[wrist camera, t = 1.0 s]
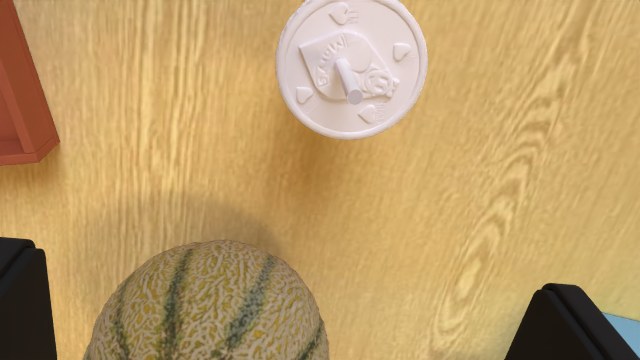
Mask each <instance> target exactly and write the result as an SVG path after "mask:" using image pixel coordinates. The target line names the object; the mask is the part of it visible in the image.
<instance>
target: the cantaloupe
mask: <svg viewBox="0 0 640 360" xmlns="http://www.w3.org/2000/svg"><path fill="white" fill-rule="evenodd" d="M328 344H329V342H328V340H327V334H326V331H325V326H324V321H323V320H322V319H321V317H320V314H319V308H318V306H317V304H316V301H315V299H314V297H313V295H312V293H311V291H310V290H309V289H308V287H307V286H306V285H305V284H304V282H303V281H302V279H301V278H300V277H299V275H298V273H297V272H296V271H295V270H293V269H292V268H291V267H290V266H289V265H288V264H287V263H286V262H284V261H283V260H281V259H279V258H278V257H275V256H271V255H270V254H268V253H267V252H266V251H264V250H262V249H260V248H258V247H256V246H253V245H248V244H245V243H241V242H236V241H231V240H217V241H210V242H205V243H197V242H194V243H191V244H188V245H182V246H179V247H175V248H172V249H170V250H167V251H165V252H162V253H160V254H158V255H156V256H154V257H153V258H151V259H150V260H148V261H147V262H146V263H144V264H143V265H142V266H141V267H140V268H139V269H137V270H136V271H135V272H133V273H132V274H131V275H130V276H129V277H128V278H127V279H126V280H124V281H123V282H122V283H121V284H120V285H119V286H118V287H117V290H116V291H115V293H113V294H112V296H111V297H110V299H109V301H108V302H107V303H106V304H105V306H104V308H103V310H102V312H101V314H100V315H99V316H98V318H97V320H96V323H95V325H94V328H93V334H92V338H91V342H90V343H89V345H88V347H87V350H86V352H85V355H84V357H83V360H329V347H328Z"/></svg>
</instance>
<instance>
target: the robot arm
mask: <svg viewBox="0 0 640 360" xmlns="http://www.w3.org/2000/svg"><path fill="white" fill-rule="evenodd" d="M0 360H57V352H56V343H55V334H54V326H53V317H52V308H51V300H50V291H49V282H48V273H47V265H46V256H45V252H44V250H43V249H37V248H36V247H35V244H34V242H33V241H32V240H30V239H18V238H6V237H0ZM504 360H640V358H639V357H638V356H637V354H636V353H635V352H634V351H633V350H632V348H631V347H630V346H629V345H628V344H627V342H626V341H625V340H624V339H623V338H622V336H621V335H620V334H619V333H618V332H617V330H616V329H615V328H614V327H613V326H612V324H611V323H610V322H609V321H608V320H607V318H606V317H605V316H604V315H603V314H602V312H601V311H600V310H599V309H598V308H597V306H596V305H595V304H594V303H593V302H592V300H591V299H590V298H589V297H588V296H587V294H586V293H585V292H584V291H583V290H582V289H581V288H580V287H579V286H576V285H568V284H556V283H548V284H545V285H544V286H543V287H542V289H541V290H537V291H536V292H535V293H534V295H533V297H532V299H531V301H530V304H529V306H528V308H527V310H526V313H525V315H524V317H523V319H522V321H521V324H520V326H519V328H518V330H517V333H516V335H515V337H514V339H513V341H512V344H511V346H510V348H509V350H508V353H507V355H506V357H505V359H504Z"/></svg>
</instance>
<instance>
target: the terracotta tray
mask: <svg viewBox="0 0 640 360" xmlns="http://www.w3.org/2000/svg"><path fill="white" fill-rule="evenodd" d="M59 142H60V140H59V137H58V134H57V131H56V128H55V126H54V123H53V120H52V117H51V114H50V111H49V108H48V105H47V102H46V99H45V96H44V93H43V90H42V87H41V84H40V81H39V78H38V75H37V72H36V69H35V66H34V63H33V60H32V57H31V54H30V51H29V48H28V45H27V42H26V39H25V36H24V33H23V30H22V28H21V25H20V22H19V19H18V16H17V13H16V10H15V7H14V4H13V1H12V0H0V166H2V165H13V164H25V163H36V162H39V161H40V160H41V159H42V158H43V157H44V156H45V155H47V154H48V153H49V152H50V151H51V150H52V149H53V148H54V147H55V146H56V145H57V144H58V143H59Z"/></svg>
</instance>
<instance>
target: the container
mask: <svg viewBox="0 0 640 360" xmlns="http://www.w3.org/2000/svg"><path fill="white" fill-rule="evenodd" d="M602 314H603V315H604V316H605V317H606V318H607V320H608V321H609V322H610V323H611V324H612V326H613V327H614V328H615V329H616V330H617V332H618V333H619V334H620V335H621V336H622V338H623V339H624V340H625V341H626V342H627V344H628V345H629V346H630V347H631V348H632V350H633V351H634V352H635V353H636V354H637V356H638V357H639V358H640V322H638V321H634V320H630V319H626V318H622V317H618V316H613V315H609V314H605V313H602Z"/></svg>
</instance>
